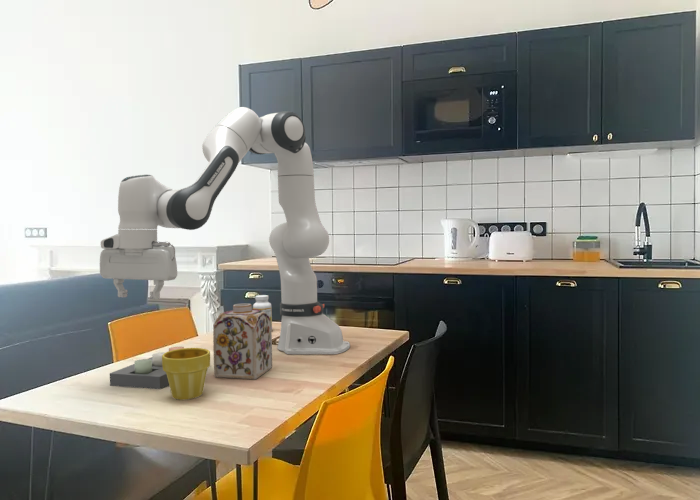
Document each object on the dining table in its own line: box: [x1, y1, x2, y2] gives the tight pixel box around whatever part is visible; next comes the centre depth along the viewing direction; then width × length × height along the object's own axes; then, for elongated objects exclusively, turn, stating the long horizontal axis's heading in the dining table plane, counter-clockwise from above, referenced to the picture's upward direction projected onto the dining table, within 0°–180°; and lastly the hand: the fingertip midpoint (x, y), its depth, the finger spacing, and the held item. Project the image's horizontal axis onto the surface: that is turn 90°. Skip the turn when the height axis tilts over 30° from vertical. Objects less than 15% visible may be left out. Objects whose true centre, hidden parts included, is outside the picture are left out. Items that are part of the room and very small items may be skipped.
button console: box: [109, 356, 169, 390], centre depth 140 cm, size 14×21×3 cm, turn 164°
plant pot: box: [162, 347, 211, 401], centre depth 123 cm, size 10×10×10 cm
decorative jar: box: [212, 303, 273, 381], centre depth 141 cm, size 12×12×18 cm
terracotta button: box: [168, 346, 185, 351], centre depth 146 cm, size 4×4×3 cm
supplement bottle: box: [252, 294, 273, 331], centre depth 196 cm, size 7×7×13 cm
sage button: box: [133, 358, 152, 375], centre depth 133 cm, size 4×4×3 cm
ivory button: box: [151, 352, 165, 367], centre depth 140 cm, size 4×4×3 cm
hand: (138, 298), depth 132 cm, fingers open, 8 cm apart
